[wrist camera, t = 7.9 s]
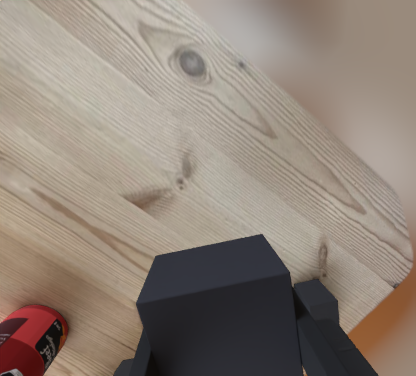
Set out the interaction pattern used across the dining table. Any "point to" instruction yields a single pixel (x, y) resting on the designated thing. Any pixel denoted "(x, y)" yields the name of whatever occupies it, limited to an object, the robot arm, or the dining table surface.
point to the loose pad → (221, 311)
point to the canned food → (30, 340)
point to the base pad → (318, 300)
